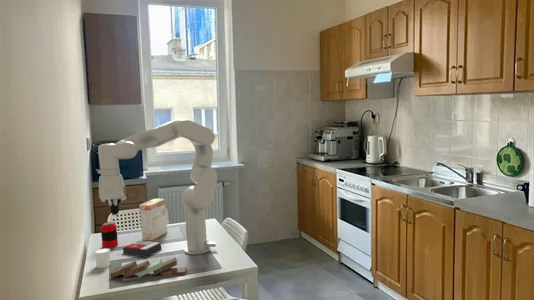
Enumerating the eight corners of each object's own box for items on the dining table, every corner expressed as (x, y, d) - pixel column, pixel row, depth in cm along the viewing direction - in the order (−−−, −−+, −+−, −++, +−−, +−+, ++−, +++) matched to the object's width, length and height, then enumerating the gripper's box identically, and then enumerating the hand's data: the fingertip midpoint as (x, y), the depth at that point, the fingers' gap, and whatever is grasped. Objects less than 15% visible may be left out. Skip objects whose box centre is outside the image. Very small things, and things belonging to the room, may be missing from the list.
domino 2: (129, 273, 178) (150, 264, 177) (125, 278, 173) (146, 269, 172) (127, 269, 178) (148, 260, 177) (123, 274, 173) (144, 264, 172)
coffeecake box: (157, 231, 238) (154, 198, 236) (167, 232, 236) (165, 198, 234) (141, 239, 224) (138, 204, 222) (152, 240, 222) (150, 204, 220)
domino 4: (155, 271, 179) (177, 261, 180) (154, 275, 174) (177, 264, 175) (153, 267, 178) (175, 257, 180) (152, 271, 174) (175, 260, 175)
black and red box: (138, 239, 213) (160, 241, 207) (139, 248, 214) (161, 249, 207) (122, 246, 203) (145, 248, 197) (123, 255, 204) (146, 257, 197)
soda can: (104, 249, 210) (102, 226, 209) (100, 246, 217) (98, 223, 215) (119, 246, 215) (118, 223, 214) (115, 242, 221) (113, 220, 220)
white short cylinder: (94, 269, 184) (92, 254, 184) (96, 264, 191) (94, 249, 190) (110, 267, 186) (109, 252, 186) (111, 261, 193) (110, 247, 192)
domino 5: (163, 272, 179) (187, 271, 179) (161, 277, 174) (185, 276, 174) (163, 268, 178) (186, 267, 178) (160, 273, 173) (184, 271, 174)
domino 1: (117, 273, 179) (137, 264, 177) (111, 278, 174) (132, 269, 172) (115, 268, 178) (135, 260, 177) (109, 273, 173) (130, 265, 172)
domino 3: (142, 272, 178) (163, 263, 178) (138, 277, 173) (160, 267, 173) (140, 268, 178) (161, 259, 178) (136, 273, 173) (158, 263, 173)
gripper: (89, 175, 174) (94, 217, 176) (124, 172, 173) (129, 215, 176) (96, 172, 181) (101, 212, 183) (130, 169, 181) (135, 210, 183)
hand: (115, 214), depth 179 cm, fingers closed
